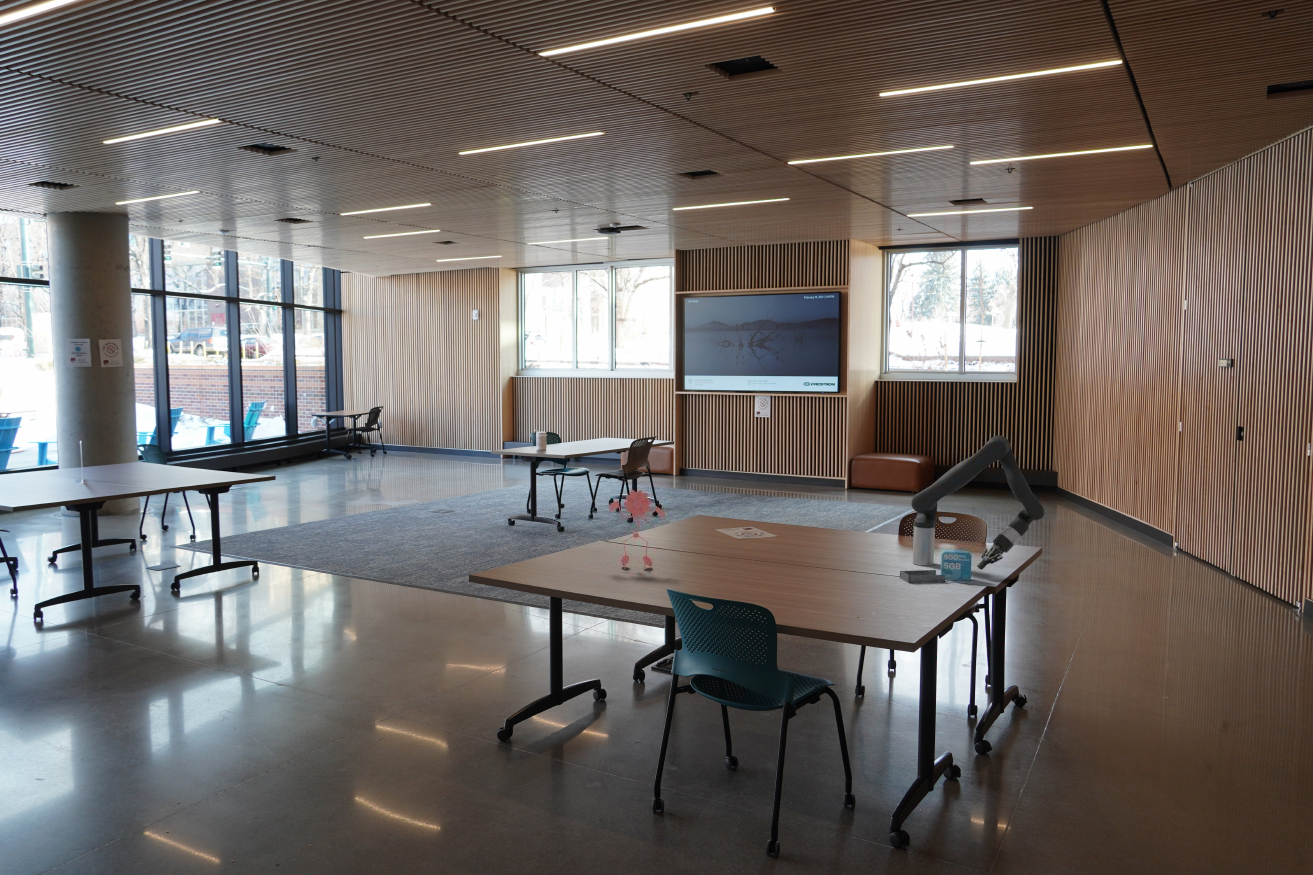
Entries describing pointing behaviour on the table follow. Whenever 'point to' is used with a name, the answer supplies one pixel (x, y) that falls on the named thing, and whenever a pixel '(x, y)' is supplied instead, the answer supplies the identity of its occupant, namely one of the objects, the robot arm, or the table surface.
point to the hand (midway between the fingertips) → (979, 568)
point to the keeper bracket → (921, 576)
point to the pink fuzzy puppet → (636, 506)
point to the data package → (956, 564)
